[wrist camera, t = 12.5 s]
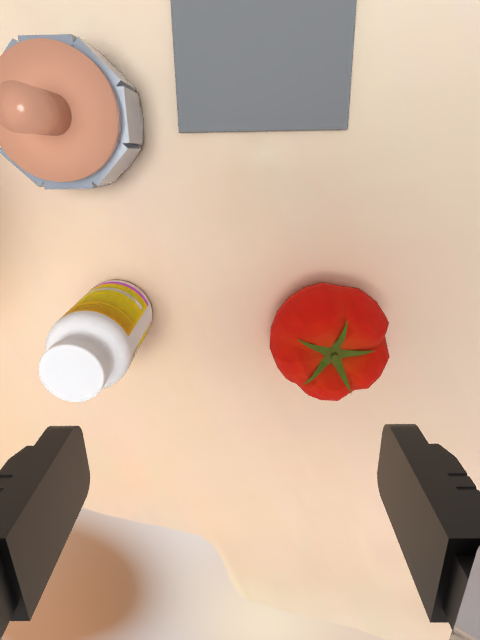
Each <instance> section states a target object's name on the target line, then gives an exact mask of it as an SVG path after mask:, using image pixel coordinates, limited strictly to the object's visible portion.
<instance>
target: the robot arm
mask: <svg viewBox="0 0 480 640" xmlns="http://www.w3.org/2000/svg"><path fill="white" fill-rule="evenodd" d="M377 479H378V488H379V492H380V496H381V499H382V501H383V504H384V506H385V509H386V511H387V514H388V516H389V519H390V521H391V524H392V527H393V529H394V532H395V534H396V537H397V539H398V542H399V544H400V547H401V549H402V552H403V554H404V557H405V560H406V562H407V565H408V567H409V570H410V572H411V575H412V577H413V580H414V582H415V585H416V587H417V590H418V593H419V595H420V598H421V600H422V603H423V605H424V608H425V610H426V613H427V615H428V618H429V620H430V622H449V624H450V626H451V628H452V633H451V636H450V639H449V640H480V491H479V490H477V489H476V486H475V484H474V483H473V481H472V480H471V478H470V477H469V476H467V473H466V471H465V470H464V468H463V467H462V465H461V464H460V462H459V461H458V460H457V458H456V457H455V456H454V455H452V454H451V453H450V452H448V451H447V450H446V449H444V448H443V447H442V446H441V445H439V444H428V442H427V440H426V439H425V437H424V436H423V434H422V433H421V431H420V429H419V428H418V426H417V425H415V424H386V425H385V426H384V428H383V432H382V440H381V448H380V455H379V463H378V472H377ZM89 484H90V471H89V465H88V460H87V454H86V449H85V444H84V438H83V433H82V430H81V428H80V427H79V426H49V427H48V428H47V429H46V430H45V431H44V433H43V434H42V436H41V437H40V438H39V440H38V441H37V443H36V444H35V445H34V446H26V447H25V448H23V449H22V450H21V451H19V452H18V453H17V454H15V455H14V456H12V457H11V458H10V459H9V460H8V461H7V462H6V463H5V465H4V466H3V467H2V469H1V470H0V640H2V638H1V637H2V635H3V633H4V631H5V629H6V627H7V625H8V623H9V621H30V620H31V617H32V615H33V613H34V611H35V609H36V607H37V604H38V602H39V600H40V598H41V595H42V593H43V591H44V589H45V587H46V585H47V582H48V580H49V578H50V576H51V574H52V571H53V569H54V567H55V565H56V562H57V561H58V558H59V556H60V554H61V552H62V549H63V547H64V545H65V543H66V541H67V539H68V536H69V534H70V532H71V530H72V528H73V525H74V523H75V521H76V519H77V517H78V514H79V512H80V510H81V508H82V506H83V504H84V501H85V499H86V497H87V494H88V490H89Z"/></svg>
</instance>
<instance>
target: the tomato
mask: <svg viewBox="0 0 480 640" xmlns="http://www.w3.org/2000/svg"><path fill="white" fill-rule="evenodd" d="M388 324H389V323H388V320H387V318H386V316H385V314H384V313H383V311H382V309H381V308H380V306H379V305H378V303H377V302H376V301H375V300H374V299H372V298H371V297H370V296H368V295H367V294H366V293H364V292H363V291H362V290H360V289H358V288H351V287H344V286H338V285H333V284H328V283H319V284H316V285H312V286H308V287H305V288H303V289H301V290H300V291H298V292H297V293H295V294H294V295H292V296H291V297H289V298H288V299H287V300H286V302H285V303H284V304H283V305H282V306H281V308H280V309H279V310H278V311H277V314H276V316H275V319H274V321H273V324H272V326H271V335H270V350H271V352H272V355H273V357H274V360H275V362H276V365H277V367H278V369H279V370H280V371H281V373H282V374H283V375H284V376H285V378H286V379H288V380H290V381H291V382H294V383H296V384H297V385H298V386H299V387H300V388H301V389H302V390H303V391H304V392H305V393H306V394H308V395H309V396H312V397H315V398H317V399H320V400H332V401H338V400H340V399H341V398H343V397H344V396H346V395H347V394H349V393H351V392H352V391H354V390H358V389H367V388H369V387H370V386H371V385H372V384H373V383H374V382H375V381H376V380H377V379H378V378H379V377H380V376H381V374H382V372H383V370H384V368H385V365H386V363H387V361H388V359H389V353H388V348H387V344H386V339H385V334H386V331H387V328H388Z"/></svg>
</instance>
